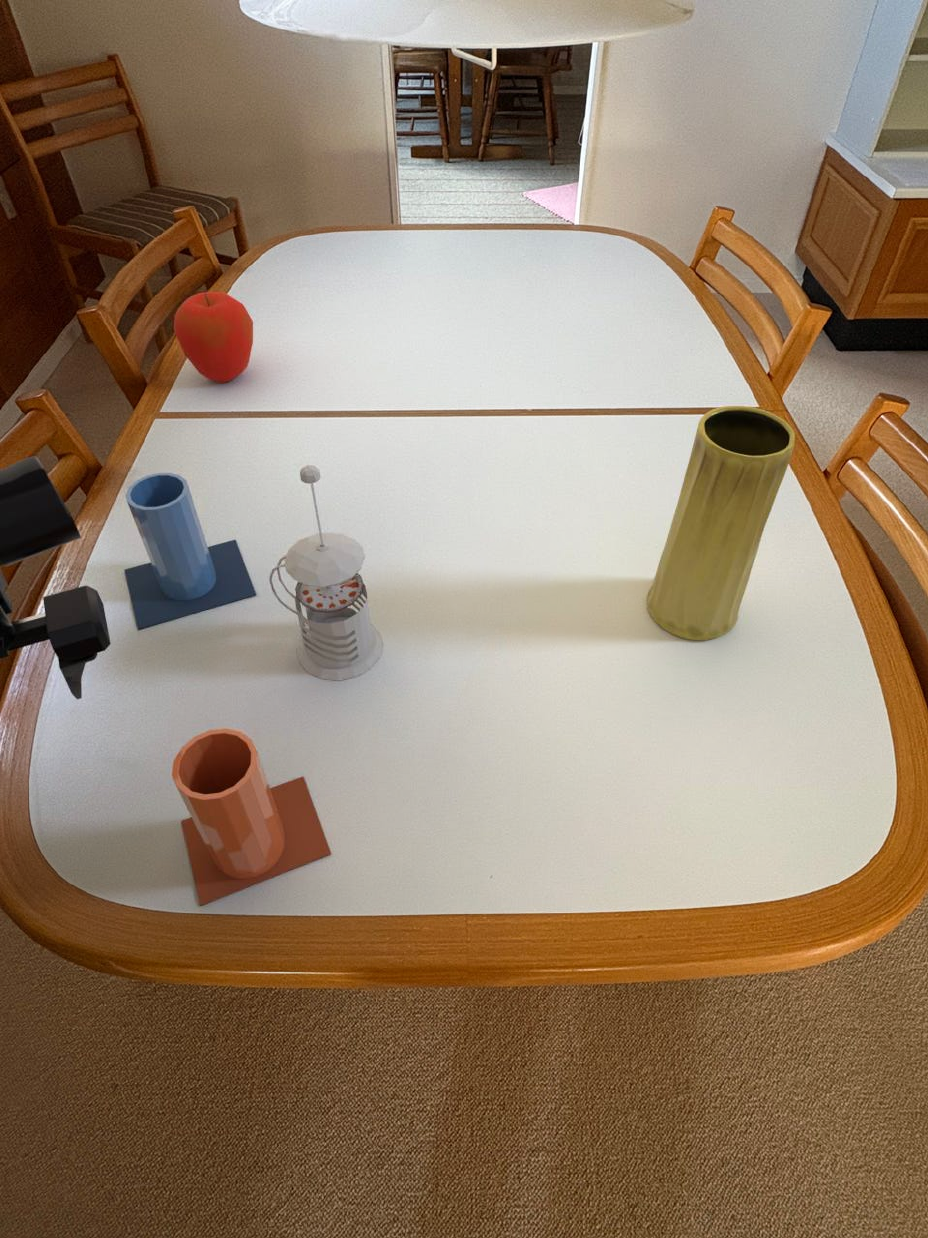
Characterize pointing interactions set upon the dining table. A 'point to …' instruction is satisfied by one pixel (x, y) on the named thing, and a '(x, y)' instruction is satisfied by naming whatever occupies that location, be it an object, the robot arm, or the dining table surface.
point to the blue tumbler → (172, 535)
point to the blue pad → (160, 608)
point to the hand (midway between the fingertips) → (23, 712)
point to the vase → (719, 520)
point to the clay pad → (299, 849)
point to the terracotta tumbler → (230, 802)
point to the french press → (330, 601)
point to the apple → (215, 335)
